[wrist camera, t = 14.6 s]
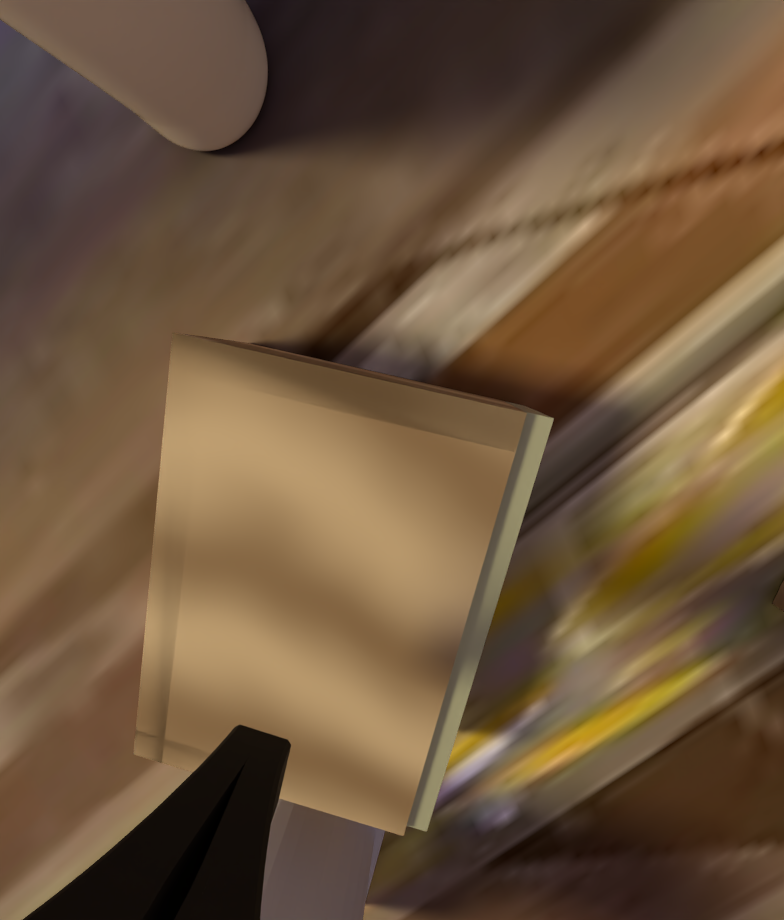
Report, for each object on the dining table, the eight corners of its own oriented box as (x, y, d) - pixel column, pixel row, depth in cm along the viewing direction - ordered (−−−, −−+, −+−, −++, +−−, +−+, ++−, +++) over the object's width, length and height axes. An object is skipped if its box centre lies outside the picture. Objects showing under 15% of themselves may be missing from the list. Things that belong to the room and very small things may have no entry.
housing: (413, 724, 21) (403, 836, 16) (205, 665, 22) (133, 754, 17) (502, 400, 17) (527, 412, 12) (248, 343, 18) (172, 332, 13)
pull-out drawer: (430, 732, 21) (426, 831, 16) (230, 675, 21) (174, 755, 17) (525, 405, 17) (554, 418, 13) (279, 350, 18) (224, 343, 13)
